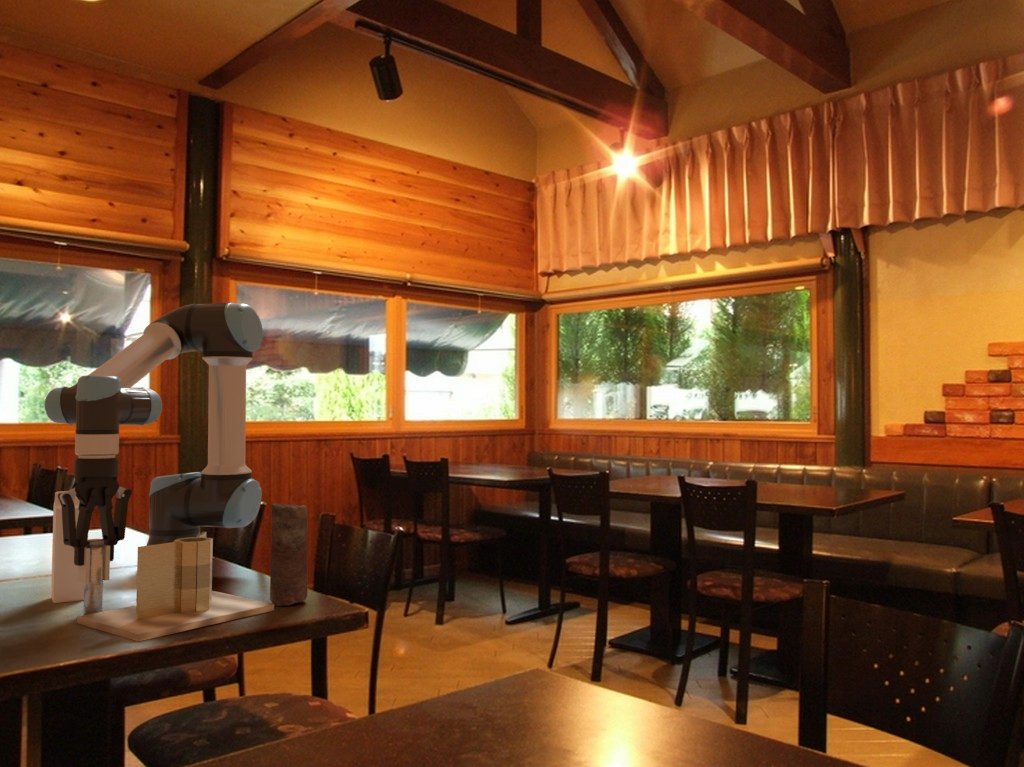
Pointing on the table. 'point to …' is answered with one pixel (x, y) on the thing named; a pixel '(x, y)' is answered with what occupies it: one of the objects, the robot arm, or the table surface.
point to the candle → (288, 554)
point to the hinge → (174, 577)
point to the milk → (64, 560)
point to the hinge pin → (94, 578)
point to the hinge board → (173, 618)
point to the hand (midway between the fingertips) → (93, 580)
